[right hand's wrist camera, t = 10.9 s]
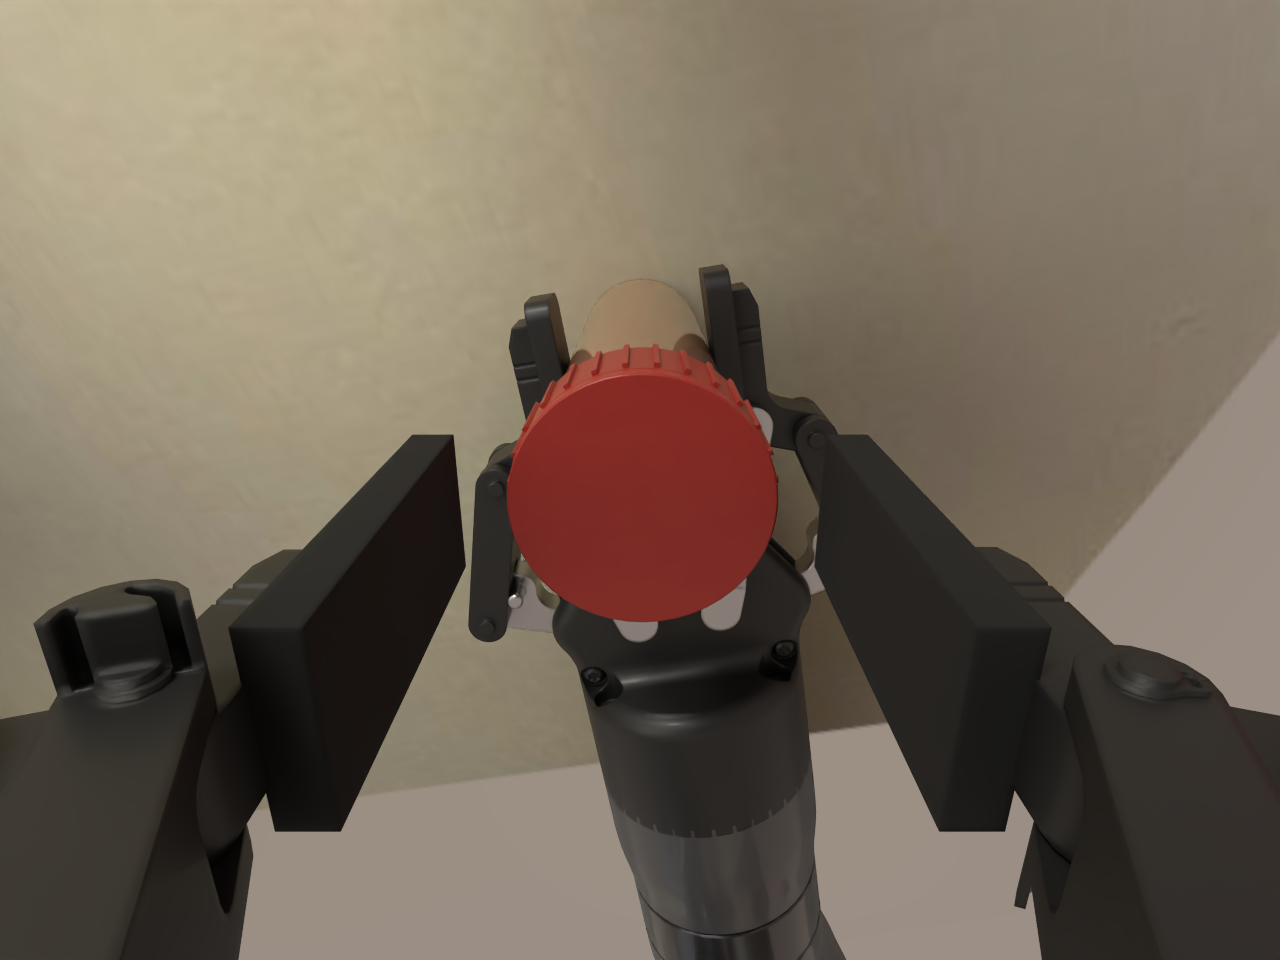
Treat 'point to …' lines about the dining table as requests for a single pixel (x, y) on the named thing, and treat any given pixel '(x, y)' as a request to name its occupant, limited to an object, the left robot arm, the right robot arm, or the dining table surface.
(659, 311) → the jar
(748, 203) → the dining table surface
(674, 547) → the lid
